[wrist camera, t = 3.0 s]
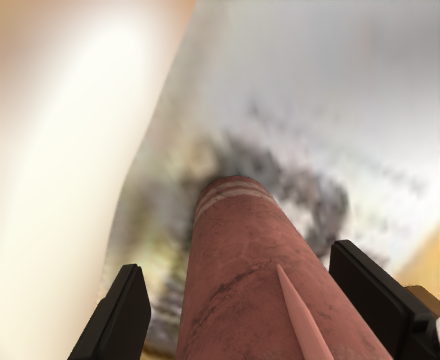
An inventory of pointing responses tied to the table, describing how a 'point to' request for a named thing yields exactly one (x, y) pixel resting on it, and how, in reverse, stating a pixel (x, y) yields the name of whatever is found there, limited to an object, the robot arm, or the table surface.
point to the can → (262, 287)
